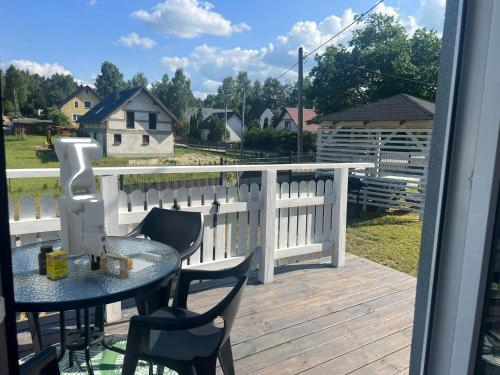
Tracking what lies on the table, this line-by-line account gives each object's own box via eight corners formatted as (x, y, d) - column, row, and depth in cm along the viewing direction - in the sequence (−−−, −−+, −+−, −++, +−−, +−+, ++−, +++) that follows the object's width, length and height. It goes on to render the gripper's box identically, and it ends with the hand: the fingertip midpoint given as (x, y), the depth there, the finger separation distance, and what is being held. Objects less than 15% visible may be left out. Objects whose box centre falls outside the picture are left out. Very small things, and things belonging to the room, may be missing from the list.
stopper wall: (159, 261, 182) (159, 256, 181) (140, 257, 187) (140, 252, 187) (161, 260, 184) (161, 255, 183) (143, 256, 189) (143, 251, 188)
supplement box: (54, 281, 155) (53, 256, 154) (46, 278, 158) (45, 253, 157) (68, 277, 160) (67, 252, 159) (60, 273, 163) (59, 249, 162)
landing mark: (135, 272, 167) (135, 272, 167) (114, 267, 173) (114, 267, 173) (155, 264, 178) (155, 263, 178) (134, 259, 184) (134, 259, 184)
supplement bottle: (35, 275, 161) (33, 248, 159) (45, 269, 168) (43, 243, 166) (50, 276, 161) (49, 249, 159) (59, 270, 167) (58, 244, 166)
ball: (119, 268, 166) (123, 257, 167) (117, 266, 171) (122, 255, 172) (131, 272, 169) (135, 260, 170) (129, 269, 174) (133, 258, 175)
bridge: (123, 279, 160) (122, 258, 158) (99, 272, 166) (98, 252, 165) (128, 276, 162) (128, 256, 161) (104, 270, 169) (103, 250, 167)
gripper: (115, 228, 153) (115, 270, 156) (89, 222, 159) (90, 263, 163) (100, 233, 146) (101, 277, 150) (74, 226, 153) (75, 268, 156)
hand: (95, 269), depth 156 cm, fingers closed
